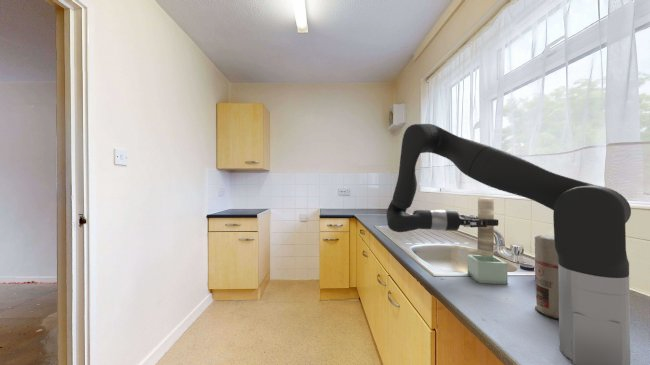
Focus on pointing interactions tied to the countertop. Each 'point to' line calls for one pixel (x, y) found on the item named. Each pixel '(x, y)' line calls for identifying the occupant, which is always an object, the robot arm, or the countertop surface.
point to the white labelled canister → (547, 276)
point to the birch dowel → (486, 228)
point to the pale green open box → (487, 269)
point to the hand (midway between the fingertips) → (493, 221)
